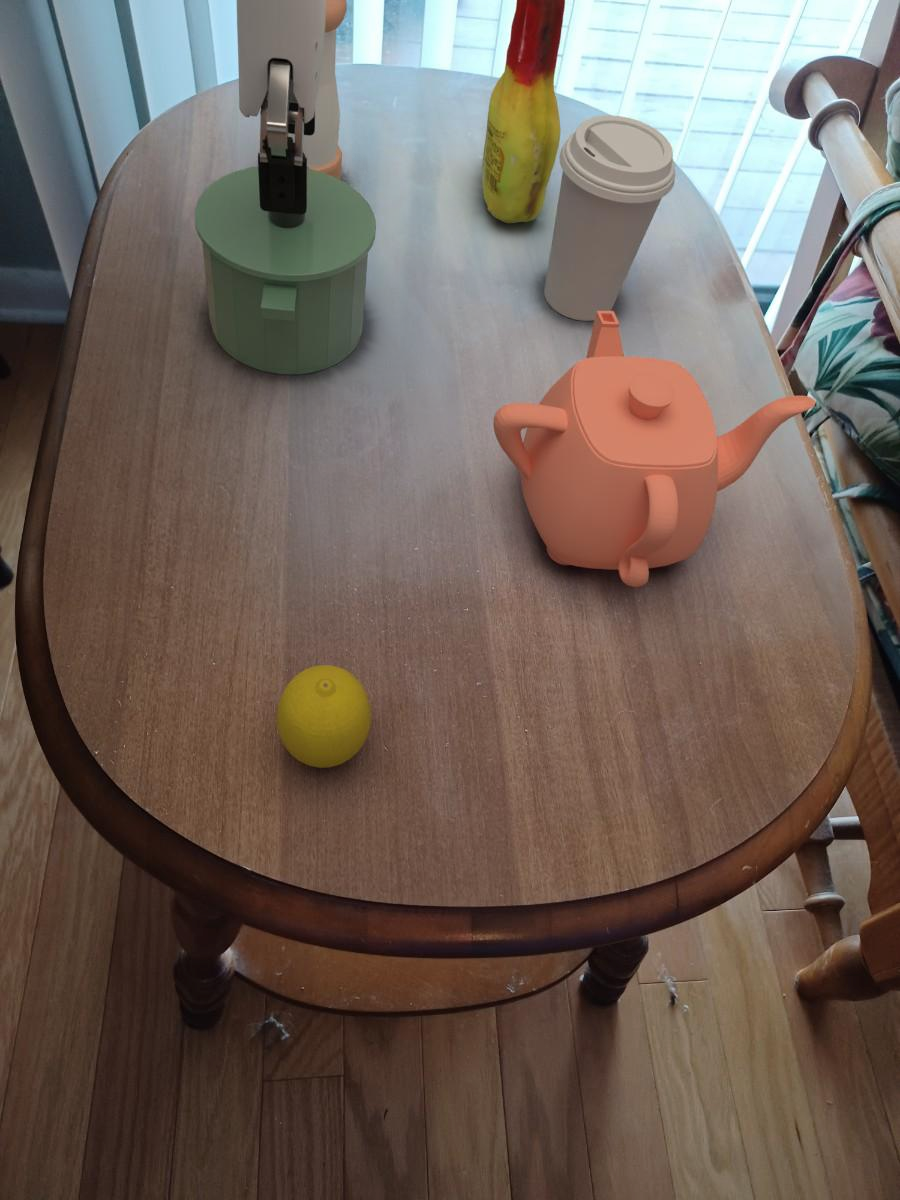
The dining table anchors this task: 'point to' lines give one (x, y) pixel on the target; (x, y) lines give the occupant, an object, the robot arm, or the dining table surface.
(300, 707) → the lemon
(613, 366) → the teapot
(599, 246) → the coffee cup
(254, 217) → the pot lid
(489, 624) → the dining table surface
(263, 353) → the pot
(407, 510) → the dining table surface
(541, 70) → the bottle
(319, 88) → the salt shaker
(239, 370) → the dining table surface
